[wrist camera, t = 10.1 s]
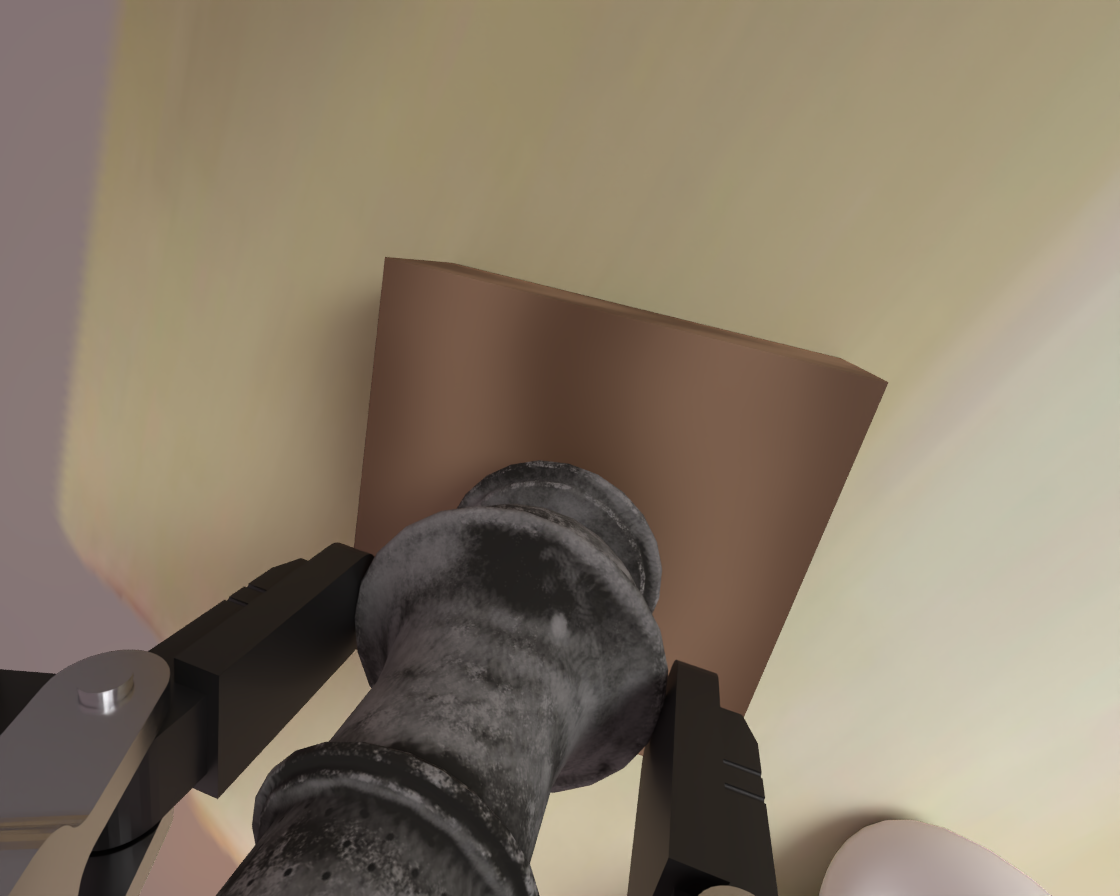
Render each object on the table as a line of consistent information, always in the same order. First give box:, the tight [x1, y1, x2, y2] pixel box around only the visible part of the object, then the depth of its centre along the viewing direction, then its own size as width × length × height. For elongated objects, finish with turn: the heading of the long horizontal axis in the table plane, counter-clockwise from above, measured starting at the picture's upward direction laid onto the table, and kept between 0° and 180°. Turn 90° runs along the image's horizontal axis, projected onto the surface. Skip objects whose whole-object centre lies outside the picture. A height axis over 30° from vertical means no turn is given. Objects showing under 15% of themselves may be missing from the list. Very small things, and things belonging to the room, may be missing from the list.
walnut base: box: [354, 257, 888, 756], centre depth 16 cm, size 12×12×4 cm
